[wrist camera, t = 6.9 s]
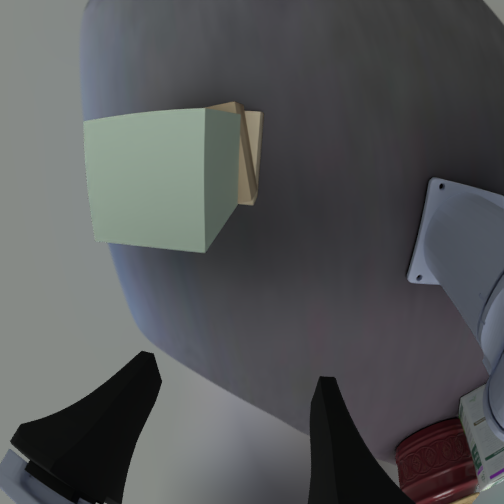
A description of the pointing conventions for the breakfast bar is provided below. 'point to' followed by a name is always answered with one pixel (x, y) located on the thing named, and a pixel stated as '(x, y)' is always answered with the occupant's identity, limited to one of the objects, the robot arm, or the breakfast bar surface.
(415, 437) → the canister
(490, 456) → the syrup box
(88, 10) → the breakfast bar surface
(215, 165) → the block
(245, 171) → the slab top
